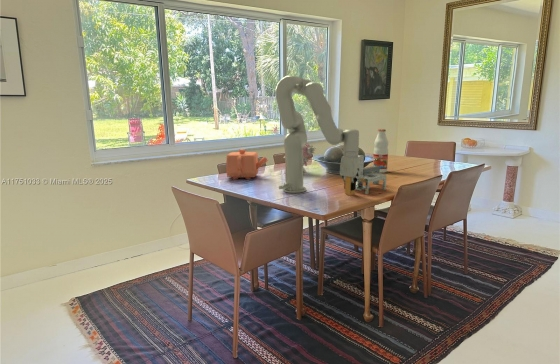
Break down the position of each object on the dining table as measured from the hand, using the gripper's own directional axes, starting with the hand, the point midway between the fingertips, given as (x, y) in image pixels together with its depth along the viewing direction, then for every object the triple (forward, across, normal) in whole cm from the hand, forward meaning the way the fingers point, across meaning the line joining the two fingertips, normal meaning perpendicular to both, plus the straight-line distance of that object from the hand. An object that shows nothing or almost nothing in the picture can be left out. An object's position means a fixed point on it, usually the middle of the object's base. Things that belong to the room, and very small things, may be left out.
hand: (349, 189), depth 193 cm
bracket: (+3, -5, +23) cm, 24 cm away
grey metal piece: (+3, -2, +14) cm, 14 cm away
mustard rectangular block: (+3, 0, 0) cm, 3 cm away
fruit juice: (+3, -25, +60) cm, 65 cm away
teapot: (+3, -70, -15) cm, 72 cm away
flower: (+3, -57, +16) cm, 59 cm away
